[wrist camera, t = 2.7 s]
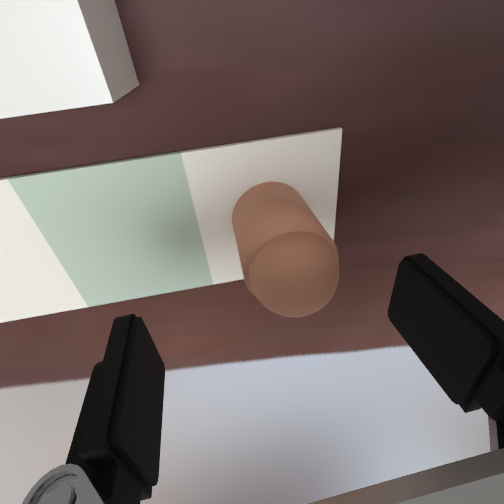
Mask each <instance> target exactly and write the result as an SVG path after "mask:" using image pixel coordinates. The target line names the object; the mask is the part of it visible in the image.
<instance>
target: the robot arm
mask: <svg viewBox="0 0 504 504" xmlns="http://www.w3.org/2000/svg"><path fill="white" fill-rule="evenodd" d="M388 317H389V319H390V321H391V322H392V324H393V325H394V326H395V328H396V329H397V330H398V332H399V333H400V334H401V335H402V337H403V338H404V339H405V341H406V342H407V343H408V345H409V346H410V347H411V348H412V350H413V351H414V352H415V354H416V355H417V356H418V358H419V359H420V360H421V362H422V363H423V364H424V365H425V367H426V368H427V369H428V370H429V372H430V373H431V374H432V376H433V377H434V378H435V380H436V381H437V382H438V384H439V385H440V386H441V388H442V389H443V390H444V391H445V393H446V394H447V395H448V397H449V398H450V399H451V400H452V401H453V402H454V403H455V404H459V405H460V406H461V408H462V409H463V410H464V412H465V413H467V412H470V411H474V410H478V409H481V407H482V409H483V410H484V411H485V412H486V413H487V414H488V422H489V435H490V450H491V452H488V453H485V454H481V455H478V456H474V457H471V458H467V459H463V460H460V461H456V462H453V463H449V464H445V465H442V466H438V467H435V468H432V469H428V470H425V471H421V472H417V473H414V474H410V475H407V476H403V477H400V478H396V479H393V480H389V481H386V482H382V483H379V484H375V485H372V486H368V487H365V488H361V489H358V490H354V491H351V492H347V493H344V494H340V495H337V496H334V497H330V498H327V499H323V500H319V501H316V502H312V503H309V504H504V321H503V320H502V319H501V318H499V317H498V316H497V315H496V314H495V313H493V312H492V311H491V310H490V309H489V308H487V307H486V306H485V305H484V304H483V303H482V302H480V301H479V300H478V299H477V298H476V297H474V296H473V295H472V294H471V293H470V292H468V291H467V290H466V289H465V288H464V287H463V286H461V285H460V284H459V283H458V282H457V281H455V280H454V279H453V278H452V277H451V276H449V275H448V274H447V273H446V272H445V271H444V270H442V269H441V268H440V267H439V266H438V265H436V264H435V263H434V262H433V261H432V260H430V259H429V258H428V257H427V256H426V255H424V254H421V253H420V254H415V255H410V256H406V257H404V258H403V260H402V261H401V262H400V264H399V267H398V271H397V275H396V279H395V283H394V288H393V292H392V296H391V300H390V304H389V308H388ZM164 379H165V367H164V363H163V361H162V359H161V357H160V355H159V353H158V351H157V348H156V346H155V344H154V342H153V340H152V338H151V336H150V334H149V332H148V330H147V328H146V326H145V324H144V321H143V319H142V318H141V317H136V316H135V315H134V314H130V315H125V316H121V317H116V318H115V319H114V321H113V325H112V329H111V333H110V336H109V340H108V344H107V348H106V352H105V355H104V359H103V361H101V362H98V363H97V364H96V365H95V366H94V369H93V371H92V374H91V378H90V382H89V385H88V388H87V392H86V395H85V399H84V402H83V405H82V409H81V412H80V416H79V419H78V423H77V426H76V429H75V433H74V436H73V440H72V443H71V447H70V450H69V454H68V457H67V461H66V464H65V465H61V466H59V467H56V468H54V469H52V470H51V471H49V472H48V473H47V474H45V475H44V476H43V477H42V478H41V479H40V480H39V481H38V482H37V483H36V484H35V485H34V486H33V487H32V488H31V490H30V492H29V493H28V495H27V496H26V498H25V499H24V501H23V504H140V501H141V500H145V499H149V498H151V495H152V486H155V485H156V484H157V482H158V476H159V459H160V444H161V428H162V412H163V396H164Z"/></svg>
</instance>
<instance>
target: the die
mask: <svg viewBox="0 0 504 504" xmlns="http://www.w3.org/2000/svg"><path fill="white" fill-rule="evenodd" d="M137 86H139V82H138V79H137V76H136V72H135V69H134V65H133V62H132V59H131V55H130V52H129V48H128V45H127V42H126V38H125V35H124V31H123V28H122V24H121V21H120V18H119V14H118V11H117V7H116V4H115V1H114V0H0V119H1V118H8V117H15V116H22V115H29V114H37V113H44V112H51V111H58V110H65V109H72V108H79V107H86V106H93V105H101V104H108V103H114V102H115V101H117V100H118V99H119V98H121V97H122V96H124V95H125V94H127V93H128V92H130V91H131V90H133V89H134V88H136V87H137Z"/></svg>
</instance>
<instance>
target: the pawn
mask: <svg viewBox="0 0 504 504" xmlns="http://www.w3.org/2000/svg"><path fill="white" fill-rule="evenodd" d="M232 225H233V229H234V234H235V239H236V244H237V248H238V253H239V258H240V262H241V267H242V272H243V276H244V281H245V284H246V286H247V288H248V289H249V291H250V292H251V293H252V294H253V295H254V296H256V297H257V299H258V300H259V301H260V302H261V303H262V304H263V305H264V306H265V307H266V308H267V309H269V310H270V311H272V312H274V313H276V314H278V315H282V316H286V317H304V316H308V315H311V314H313V313H315V312H317V311H319V310H320V309H321V308H323V307H324V306H325V305H326V304H327V303H328V302H329V301H330V300H331V298H332V297H333V295H334V293H335V291H336V289H337V286H338V282H339V264H338V261H339V255H338V249H337V246H336V244H335V243H334V241H333V240H332V238H331V237H330V235H329V234H328V233H327V231H326V230H325V229H324V227H323V226H322V224H321V223H320V222H319V220H318V219H317V217H316V216H315V215H314V213H313V212H312V211H311V209H310V208H309V206H308V205H307V204H306V202H305V201H304V200H303V198H302V197H301V195H300V194H299V193H298V192H297V191H296V190H295V189H294V188H292V187H291V186H289V185H287V184H284V183H280V182H265V183H261V184H258V185H256V186H254V187H252V188H250V189H249V190H247V191H246V192H245V193H244V194H243V195H242V196H241V197H240V198H239V199H238V201H237V203H236V204H235V207H234V209H233V213H232Z"/></svg>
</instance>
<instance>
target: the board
mask: <svg viewBox="0 0 504 504" xmlns="http://www.w3.org/2000/svg"><path fill="white" fill-rule="evenodd" d="M341 140H342V128H340V127H339V128H332V129H325V130H319V131H312V132H305V133H299V134H292V135H285V136H279V137H272V138H265V139H259V140H252V141H245V142H239V143H232V144H225V145H219V146H212V147H205V148H199V149H192V150H185V151H179V152H172V153H165V154H159V155H152V156H145V157H139V158H132V159H125V160H119V161H112V162H105V163H99V164H92V165H85V166H79V167H72V168H65V169H59V170H52V171H45V172H39V173H32V174H25V175H19V176H12V177H5V178H0V323H1V322H7V321H12V320H18V319H24V318H29V317H35V316H40V315H46V314H52V313H57V312H63V311H68V310H74V309H79V308H85V307H91V306H96V305H102V304H107V303H113V302H118V301H124V300H130V299H135V298H141V297H146V296H152V295H158V294H163V293H169V292H174V291H180V290H185V289H191V288H197V287H202V286H208V285H213V284H219V283H225V282H230V281H236V280H241V279H244V276H243V272H242V267H241V262H240V258H239V253H238V248H237V244H236V239H235V234H234V229H233V225H232V213H233V209H234V207H235V204H236V203H237V201H238V199H239V198H240V197H241V196H242V195H243V194H244V193H245V192H246V191H247V190H249V189H250V188H252V187H254V186H256V185H258V184H261V183H265V182H280V183H284V184H287V185H289V186H291V187H292V188H294V189H295V190H296V191H297V192H298V193H299V194H300V195H301V197H302V198H303V200H304V201H305V202H306V204H307V205H308V206H309V208H310V209H311V211H312V212H313V213H314V215H315V216H316V217H317V219H318V220H319V222H320V223H321V224H322V226H323V227H324V229H325V230H326V231H327V233H328V234H329V235H330V237H331V238H332V240H333V241H334V231H335V218H336V205H337V192H338V179H339V166H340V153H341Z"/></svg>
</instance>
